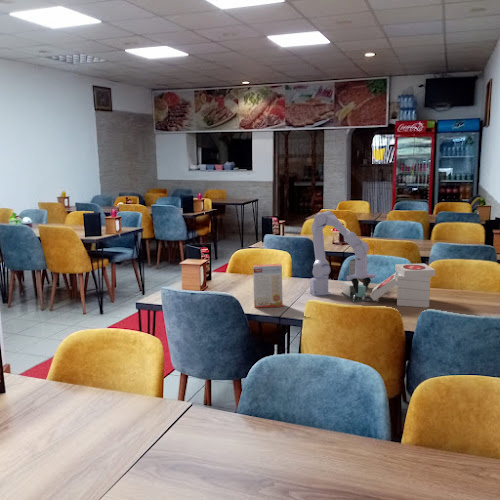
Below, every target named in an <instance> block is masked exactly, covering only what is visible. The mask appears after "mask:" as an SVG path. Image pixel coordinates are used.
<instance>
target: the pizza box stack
mask: <svg viewBox="0 0 500 500" xmlns="http://www.w3.org/2000/svg"><path fill="white" fill-rule="evenodd" d="M394 271H395V273H393V274H391V275H390V276H388V277H387V278H386V279H384V280H383V281H382V282H380V283H378V284H377V285H376V286H375V287H373V289H372V290H371V293H370V295H369V297H371V298H372V299H373V301H374V302H375V301H376V300H377V299H379V298H380V297H382V296H383V295H385V294H386V293H388V292H389V291H390V290H392V289H393V288H395V287H396V286H397V291H396V293H397V295H396V296H397V297H396V305H397V306H399V307H400V306H401V307H414V308H415V307H416V308H427V307H429V308H430V298H431V297H430V295H431V293H430V291H431V277H436V269H435V268H433V267H431V266H430V265H428V264H426V263H403V264H402V263H396V264H395V265H394Z"/></svg>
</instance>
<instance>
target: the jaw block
mask: <svg viewBox="0 0 500 500" xmlns="http://www.w3.org/2000/svg"><path fill="white" fill-rule="evenodd" d="M366 294H367V291H366V287H365V286H364V285H358V293H355V295H356V296H358V297H362V296H366Z"/></svg>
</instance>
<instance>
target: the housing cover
mask: <svg viewBox="0 0 500 500" xmlns="http://www.w3.org/2000/svg"><path fill="white" fill-rule="evenodd" d="M358 285H363V283H362V282H360V281H359V284H358ZM342 292H343V293H345V294H346V295H348V296H349V297H350V293H351V292H355V289H354V286H353V283H352V281H349V280H346V281H342Z"/></svg>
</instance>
